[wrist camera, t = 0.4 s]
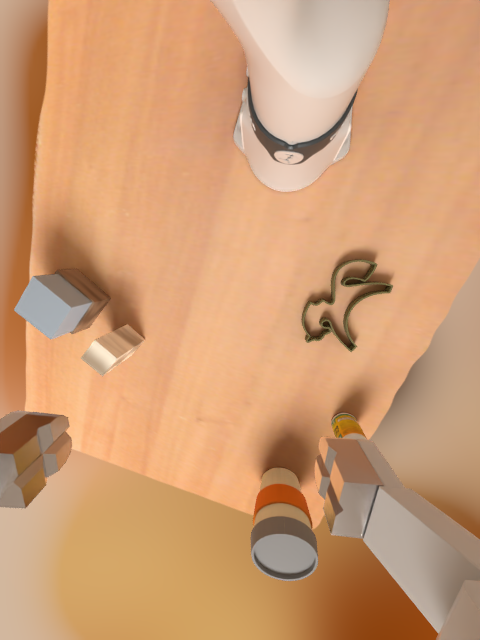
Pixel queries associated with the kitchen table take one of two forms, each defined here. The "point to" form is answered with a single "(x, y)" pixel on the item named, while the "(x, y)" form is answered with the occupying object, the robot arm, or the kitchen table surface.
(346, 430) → the supplement bottle
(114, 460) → the kitchen table surface
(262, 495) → the reusable coffee cup
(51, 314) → the slate-blue top block
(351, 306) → the cookie cutter
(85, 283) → the walnut base block
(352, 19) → the robot arm
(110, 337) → the cream pillar block
